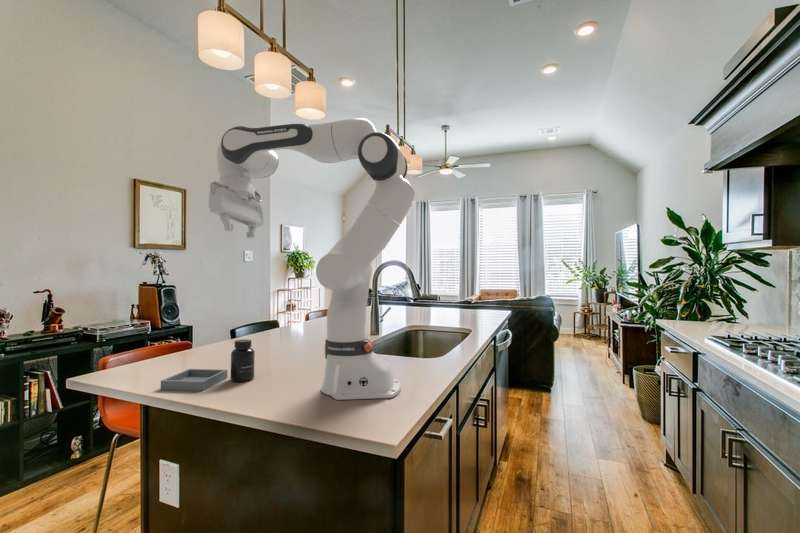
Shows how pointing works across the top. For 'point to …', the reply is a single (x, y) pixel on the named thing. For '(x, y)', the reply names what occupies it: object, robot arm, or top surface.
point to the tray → (194, 379)
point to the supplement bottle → (242, 361)
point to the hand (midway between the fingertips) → (240, 234)
